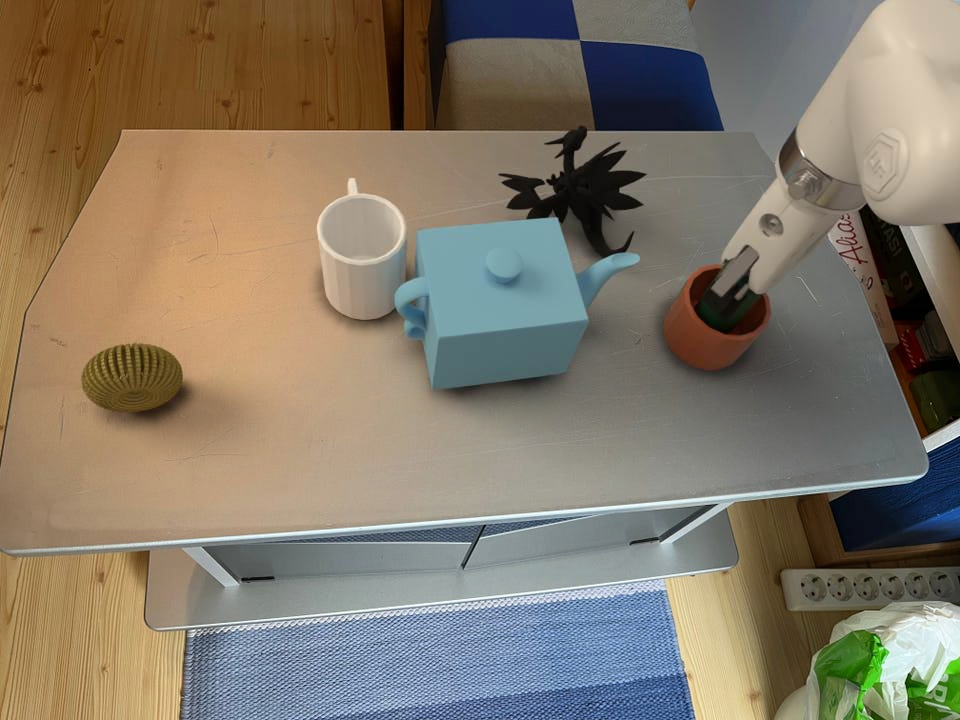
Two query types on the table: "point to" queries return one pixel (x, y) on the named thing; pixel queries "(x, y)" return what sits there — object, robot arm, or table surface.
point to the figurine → (579, 190)
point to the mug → (362, 253)
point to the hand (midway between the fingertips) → (732, 293)
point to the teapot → (499, 300)
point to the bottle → (718, 322)
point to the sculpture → (132, 377)
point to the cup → (701, 341)
